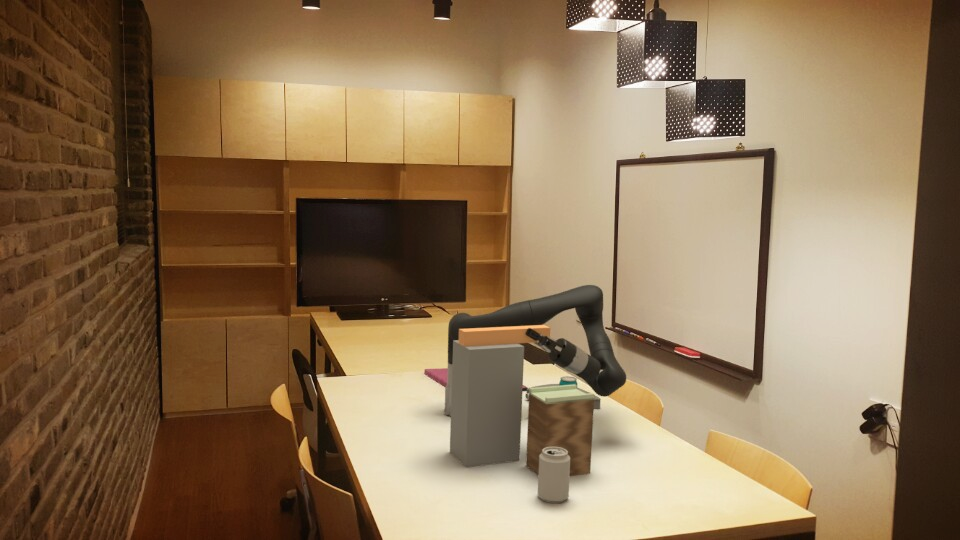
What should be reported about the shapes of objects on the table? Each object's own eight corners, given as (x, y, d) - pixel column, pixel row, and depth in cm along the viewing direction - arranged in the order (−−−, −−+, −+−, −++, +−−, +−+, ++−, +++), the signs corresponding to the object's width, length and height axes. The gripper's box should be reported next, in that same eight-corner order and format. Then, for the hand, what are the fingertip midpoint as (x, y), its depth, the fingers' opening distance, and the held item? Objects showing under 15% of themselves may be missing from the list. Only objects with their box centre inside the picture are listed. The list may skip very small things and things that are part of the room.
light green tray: (556, 416, 244) (556, 402, 244) (521, 399, 263) (521, 386, 262) (601, 410, 254) (602, 395, 253) (564, 393, 272) (565, 380, 272)
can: (535, 491, 182) (537, 444, 181) (564, 491, 183) (567, 444, 181) (540, 504, 174) (542, 455, 173) (571, 504, 175) (573, 455, 174)
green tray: (546, 404, 187) (547, 398, 187) (529, 393, 196) (529, 388, 196) (594, 399, 193) (594, 394, 193) (574, 389, 202) (574, 384, 202)
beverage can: (574, 427, 232) (577, 381, 230) (556, 426, 233) (558, 379, 231) (576, 422, 238) (578, 377, 236) (558, 420, 239) (560, 375, 237)
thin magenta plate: (423, 365, 293) (484, 361, 305) (423, 375, 293) (484, 371, 305) (467, 390, 257) (533, 385, 269) (466, 401, 258) (533, 395, 270)
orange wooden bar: (463, 346, 196) (464, 331, 196) (458, 343, 200) (458, 328, 199) (549, 341, 206) (550, 327, 206) (543, 338, 210) (543, 324, 210)
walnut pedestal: (543, 479, 190) (546, 404, 187) (526, 465, 199) (529, 393, 196) (590, 473, 195) (594, 399, 193) (571, 459, 204) (574, 389, 202)
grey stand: (465, 467, 196) (469, 349, 192) (449, 452, 207) (453, 340, 203) (519, 460, 202) (524, 346, 199) (501, 446, 213) (505, 337, 210)
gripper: (562, 340, 219) (518, 313, 212) (587, 350, 206) (541, 322, 199) (550, 362, 218) (506, 336, 211) (574, 373, 205) (528, 346, 198)
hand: (523, 329), depth 205 cm, fingers closed on orange wooden bar, 4 cm apart
